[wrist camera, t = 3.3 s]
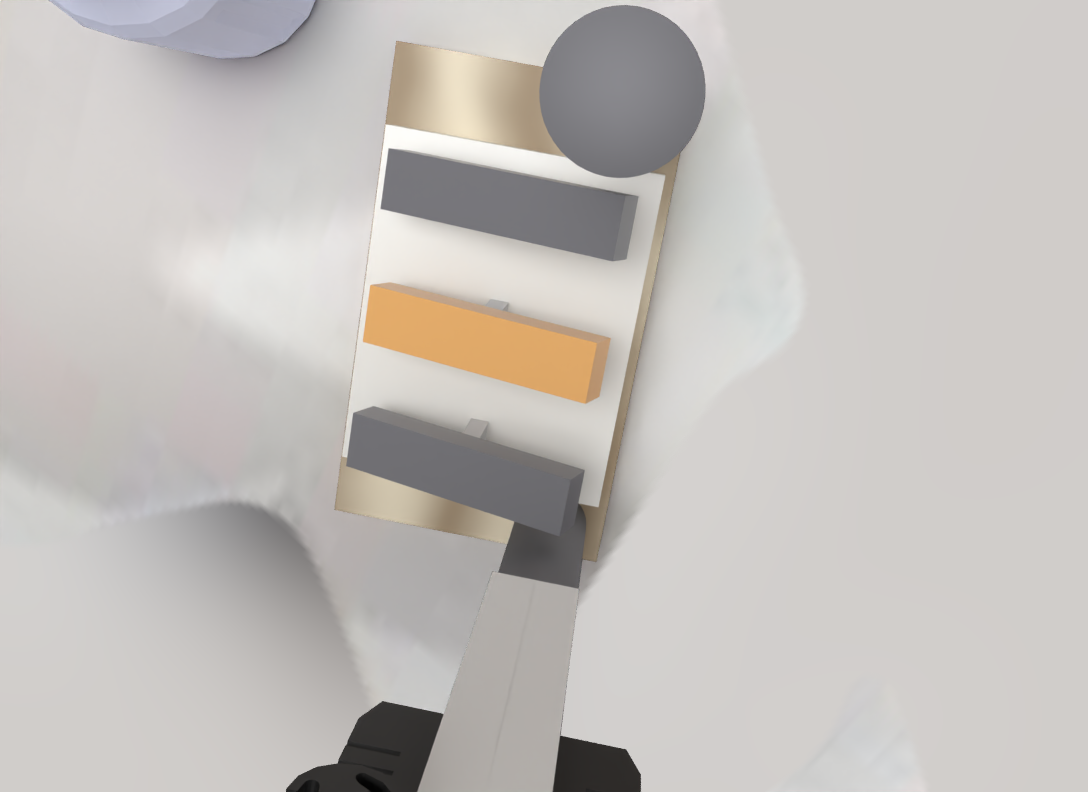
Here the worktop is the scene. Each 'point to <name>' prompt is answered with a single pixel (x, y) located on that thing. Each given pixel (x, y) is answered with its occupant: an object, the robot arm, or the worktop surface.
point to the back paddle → (466, 469)
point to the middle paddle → (487, 341)
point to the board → (514, 120)
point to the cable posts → (610, 165)
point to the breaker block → (513, 286)
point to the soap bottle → (195, 23)
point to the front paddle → (510, 204)
